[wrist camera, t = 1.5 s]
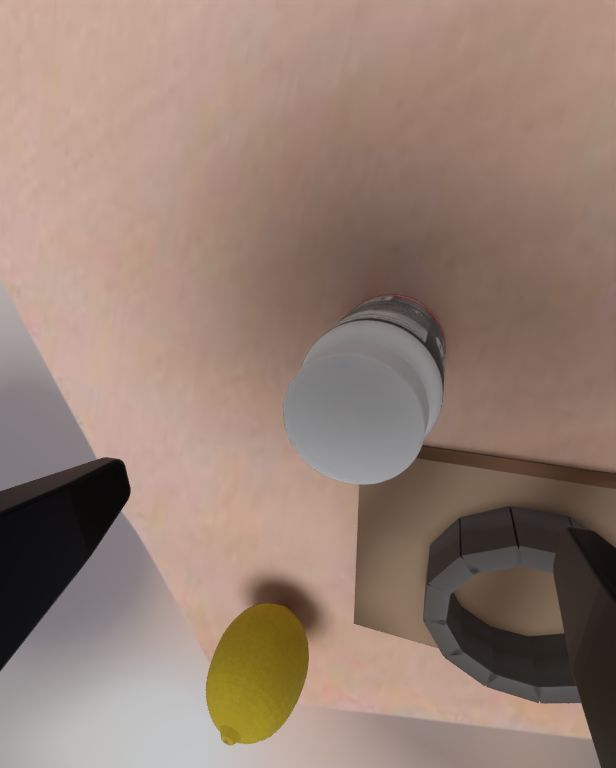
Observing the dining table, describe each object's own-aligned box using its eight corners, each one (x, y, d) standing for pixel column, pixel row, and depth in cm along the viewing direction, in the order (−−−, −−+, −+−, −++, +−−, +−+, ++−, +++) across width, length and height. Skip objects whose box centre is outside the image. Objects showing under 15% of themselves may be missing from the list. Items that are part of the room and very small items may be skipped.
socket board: (771, 497, 15) (857, 570, 12) (671, 693, 20) (715, 785, 17) (365, 437, 20) (349, 478, 17) (358, 606, 25) (344, 664, 21)
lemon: (257, 562, 26) (186, 686, 19) (334, 601, 25) (288, 747, 18) (241, 612, 29) (173, 738, 22) (311, 650, 28) (263, 794, 21)
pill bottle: (423, 406, 19) (406, 524, 11) (330, 373, 20) (258, 463, 12) (462, 310, 17) (472, 378, 9) (356, 279, 18) (288, 319, 10)
